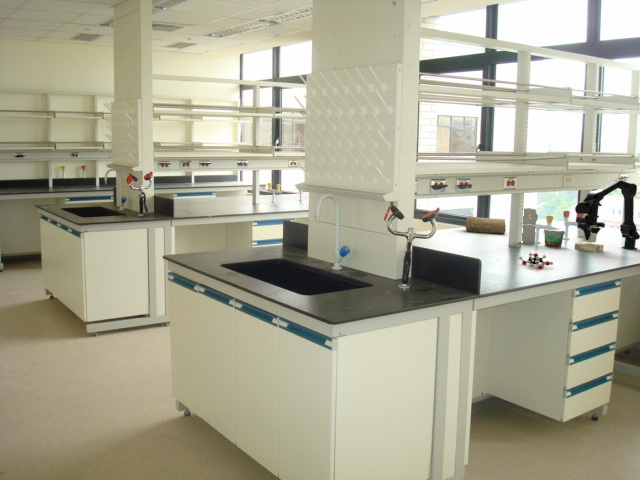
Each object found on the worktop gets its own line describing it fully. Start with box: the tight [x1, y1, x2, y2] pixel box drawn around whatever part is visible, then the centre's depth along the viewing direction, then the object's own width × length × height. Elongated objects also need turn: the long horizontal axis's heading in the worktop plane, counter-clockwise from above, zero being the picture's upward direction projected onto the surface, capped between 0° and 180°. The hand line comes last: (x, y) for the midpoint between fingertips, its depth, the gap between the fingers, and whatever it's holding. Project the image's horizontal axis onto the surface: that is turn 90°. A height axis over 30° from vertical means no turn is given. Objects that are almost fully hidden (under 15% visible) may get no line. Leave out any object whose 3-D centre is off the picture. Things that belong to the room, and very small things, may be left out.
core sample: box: [465, 216, 507, 235], centre depth 420 cm, size 14×26×10 cm, turn 72°
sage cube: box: [582, 233, 598, 243], centre depth 359 cm, size 5×5×5 cm
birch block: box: [574, 241, 605, 253], centre depth 360 cm, size 10×12×4 cm
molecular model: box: [518, 252, 554, 270], centre depth 307 cm, size 10×12×15 cm
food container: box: [543, 229, 566, 248], centre depth 367 cm, size 12×6×10 cm, turn 62°
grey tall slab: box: [522, 207, 539, 245], centre depth 376 cm, size 11×4×22 cm, turn 61°
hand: (589, 239), depth 359 cm, fingers closed on sage cube, 5 cm apart
